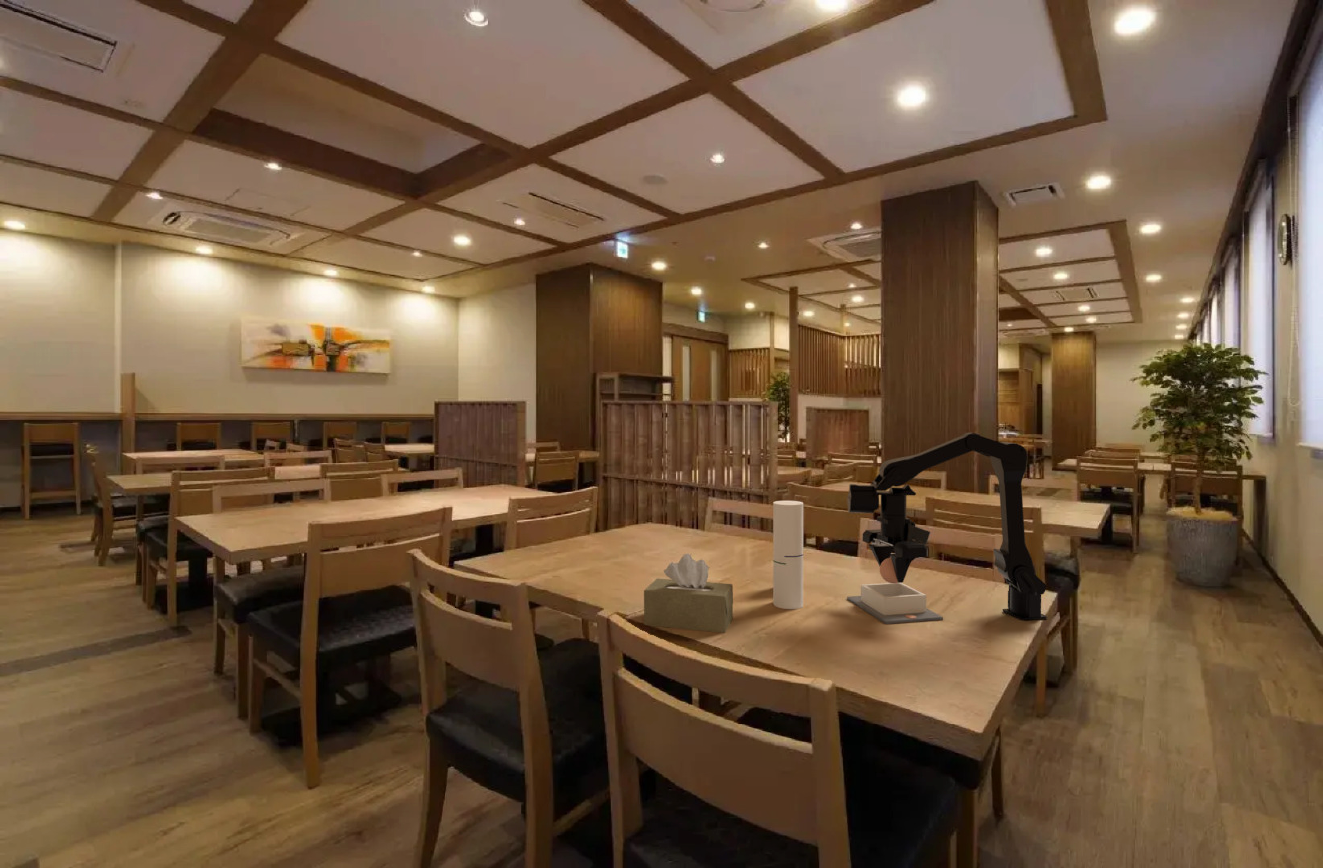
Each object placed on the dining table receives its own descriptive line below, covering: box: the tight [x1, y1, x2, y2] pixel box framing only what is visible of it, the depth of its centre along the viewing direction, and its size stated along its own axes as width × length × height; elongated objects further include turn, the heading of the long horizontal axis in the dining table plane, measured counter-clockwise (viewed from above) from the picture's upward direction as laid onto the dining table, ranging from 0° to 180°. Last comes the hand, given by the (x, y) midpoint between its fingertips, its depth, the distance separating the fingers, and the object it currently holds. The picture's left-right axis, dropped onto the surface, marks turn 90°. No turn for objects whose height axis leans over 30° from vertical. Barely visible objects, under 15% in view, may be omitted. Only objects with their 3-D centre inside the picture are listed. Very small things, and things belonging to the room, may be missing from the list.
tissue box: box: [643, 553, 734, 634], centre depth 136 cm, size 19×10×16 cm, turn 73°
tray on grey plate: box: [846, 582, 944, 625], centre depth 144 cm, size 18×14×5 cm
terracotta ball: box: [879, 557, 907, 584], centre depth 144 cm, size 6×6×6 cm
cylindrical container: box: [772, 500, 804, 610], centre depth 147 cm, size 7×7×25 cm
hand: (893, 578), depth 144 cm, fingers closed on terracotta ball, 6 cm apart
